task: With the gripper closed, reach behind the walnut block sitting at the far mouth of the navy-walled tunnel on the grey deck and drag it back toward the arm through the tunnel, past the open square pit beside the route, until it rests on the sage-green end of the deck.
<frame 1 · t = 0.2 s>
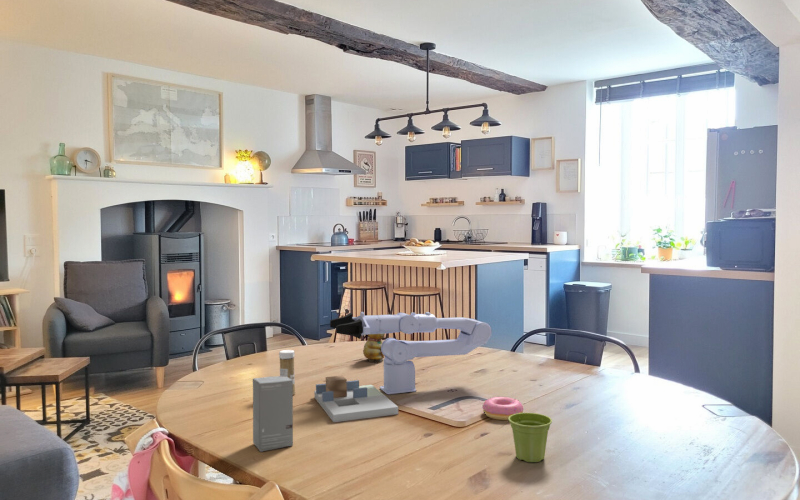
hand: (333, 326, 180), 21 cm above the table, tool horizontal, fingers open, 7 cm apart
decorative figurine: (374, 360, 229), on the table
sprinkles bottle: (287, 395, 185), on the table
plant pot: (530, 458, 134), on the table
walnut block: (336, 395, 177), point 2 cm above the table, touching deck
deck: (354, 405, 173), on the table
doughnut: (502, 416, 164), on the table
skincare box: (273, 445, 144), on the table
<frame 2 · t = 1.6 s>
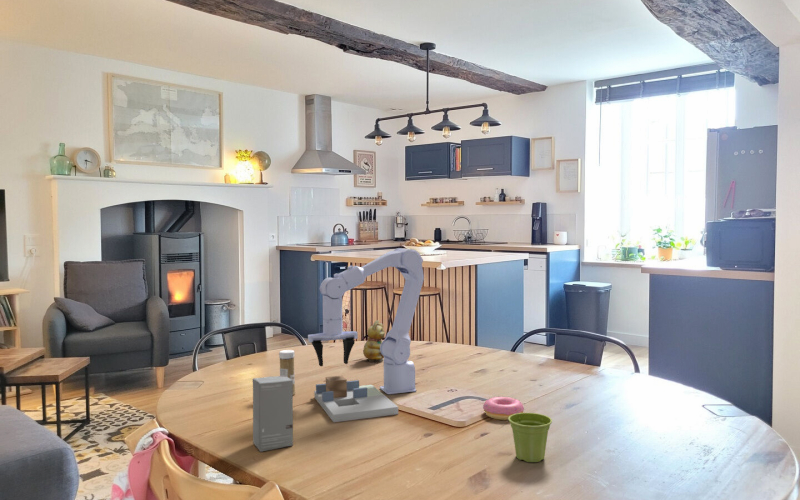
hand: (333, 364, 179), 10 cm above the table, tool pointing down, fingers open, 7 cm apart
nothing on the table moved.
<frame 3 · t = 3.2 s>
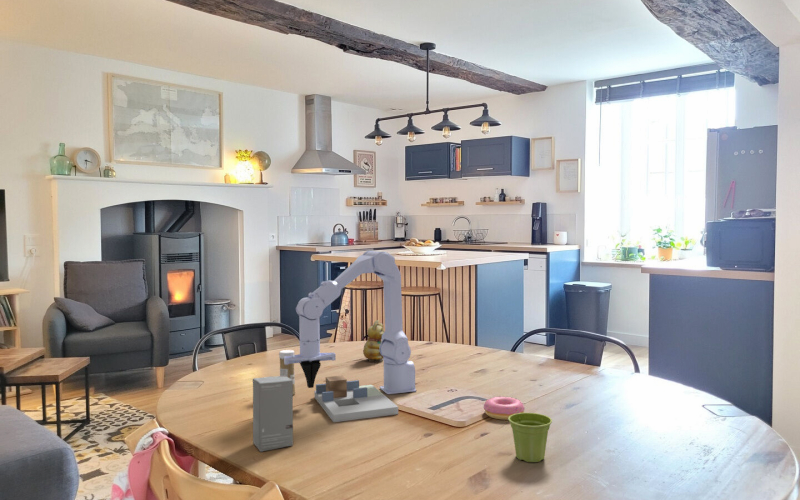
hand: (310, 387, 174), 5 cm above the table, tool pointing down, fingers closed
nothing on the table moved.
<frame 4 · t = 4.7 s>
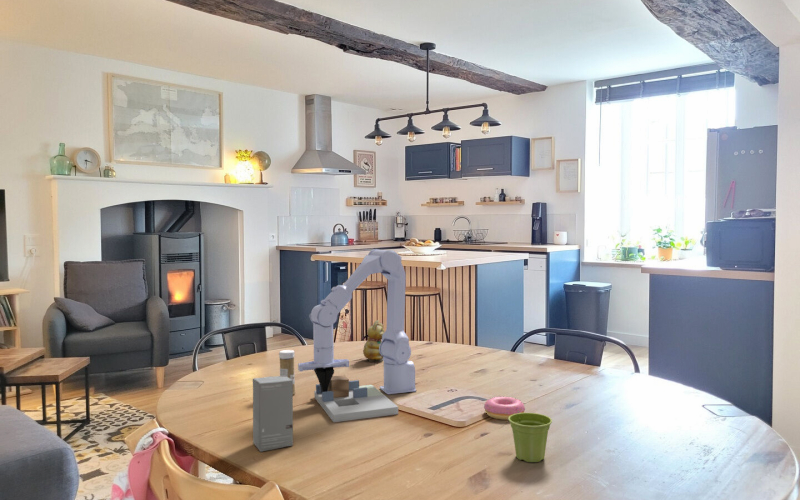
hand: (324, 393, 175), 3 cm above the table, tool pointing down, fingers closed
walnut block: (338, 394, 177), point 2 cm above the table, touching deck, gripper
everything else where it was.
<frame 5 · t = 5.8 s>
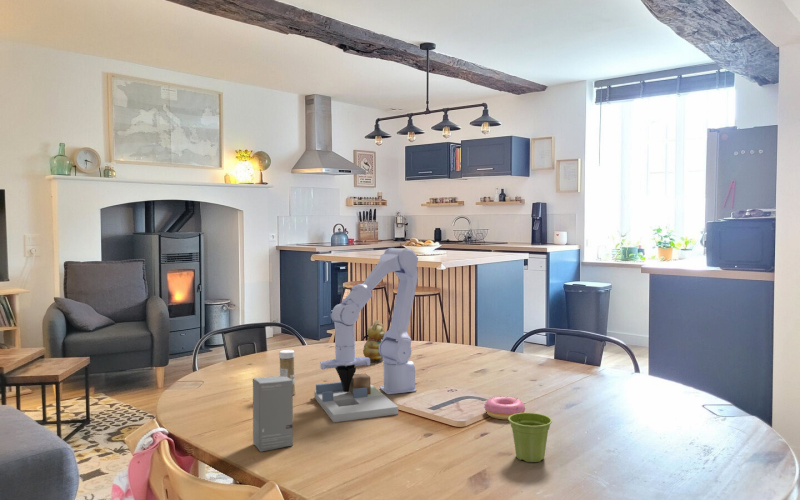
hand: (345, 391, 177), 3 cm above the table, tool pointing down, fingers closed
walnut block: (359, 392, 179), point 2 cm above the table, touching gripper
everything else where it was.
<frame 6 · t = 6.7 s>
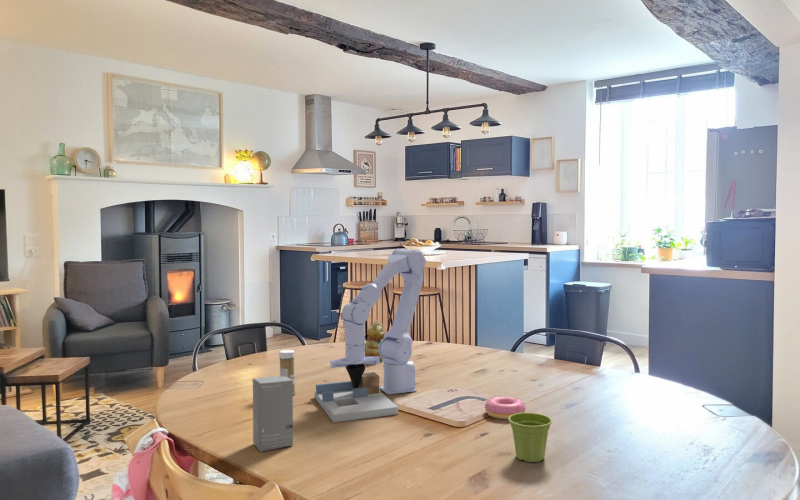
hand: (355, 389, 178), 3 cm above the table, tool pointing down, fingers closed
walnut block: (368, 391, 180), point 2 cm above the table, touching gripper
everything else where it was.
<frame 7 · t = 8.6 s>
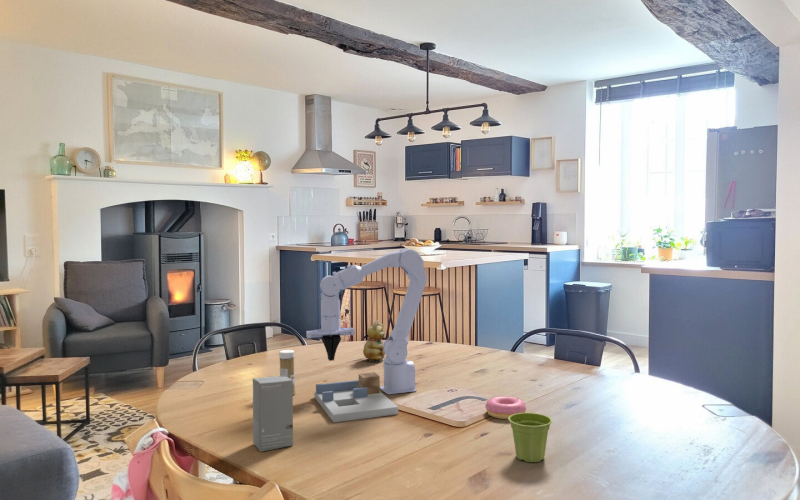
hand: (331, 359, 184), 10 cm above the table, tool pointing down, fingers closed
walnut block: (369, 391, 180), point 2 cm above the table, touching deck
everything else where it was.
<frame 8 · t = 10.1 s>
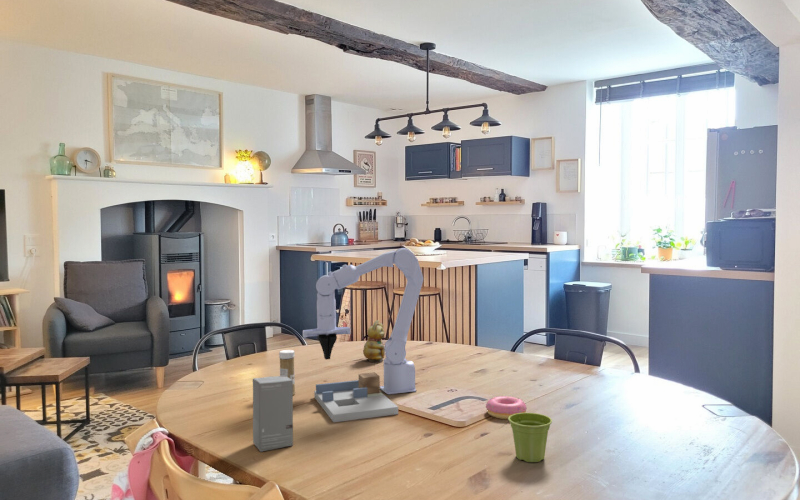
hand: (327, 358, 186), 10 cm above the table, tool pointing down, fingers closed
at the end: walnut block 0.2 cm from the target spot, point 2.0 cm above the table; walnut block tilted 0°; walnut block moved 10.0 cm from its start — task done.
